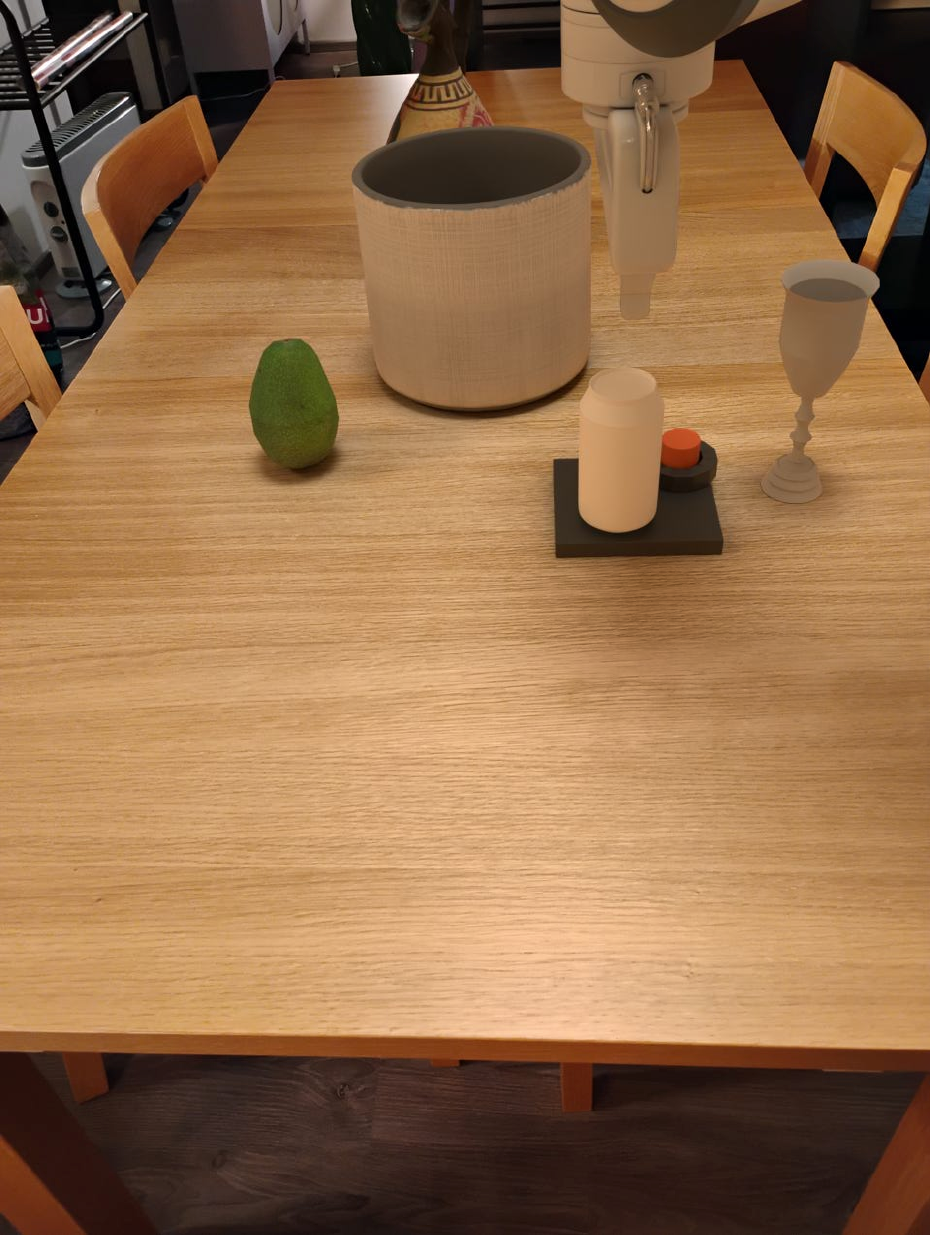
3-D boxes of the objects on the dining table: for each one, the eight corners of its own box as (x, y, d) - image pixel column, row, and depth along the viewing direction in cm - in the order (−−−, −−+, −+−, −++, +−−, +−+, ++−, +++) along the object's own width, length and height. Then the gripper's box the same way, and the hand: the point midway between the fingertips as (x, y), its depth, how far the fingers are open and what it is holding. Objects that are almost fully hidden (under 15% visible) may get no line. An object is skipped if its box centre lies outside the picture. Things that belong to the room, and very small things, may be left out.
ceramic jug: (470, 280, 119) (450, -12, 98) (365, 259, 125) (327, -18, 105) (538, 228, 129) (533, -46, 109) (438, 212, 135) (416, -49, 115)
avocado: (363, 457, 92) (344, 336, 84) (295, 495, 88) (268, 373, 80) (310, 428, 96) (287, 310, 88) (243, 463, 92) (213, 343, 84)
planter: (633, 351, 103) (643, 147, 89) (493, 446, 92) (480, 228, 78) (474, 299, 115) (462, 111, 101) (333, 377, 103) (298, 177, 90)
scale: (708, 464, 87) (711, 434, 85) (729, 554, 78) (733, 523, 76) (553, 468, 88) (553, 439, 86) (555, 557, 79) (555, 527, 77)
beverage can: (563, 510, 81) (563, 378, 73) (625, 485, 83) (631, 354, 75) (607, 549, 77) (612, 414, 69) (672, 522, 79) (684, 387, 71)
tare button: (696, 448, 84) (698, 427, 83) (700, 469, 82) (703, 448, 81) (658, 449, 85) (659, 428, 83) (661, 470, 82) (663, 449, 81)
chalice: (747, 460, 87) (776, 259, 75) (827, 462, 86) (871, 258, 74) (753, 510, 82) (786, 302, 70) (839, 512, 81) (887, 302, 69)
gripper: (715, 102, 50) (694, 354, 59) (674, 12, 65) (662, 224, 74) (589, 111, 50) (587, 359, 60) (577, 19, 66) (577, 229, 75)
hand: (629, 283), depth 67 cm, fingers open, 8 cm apart
